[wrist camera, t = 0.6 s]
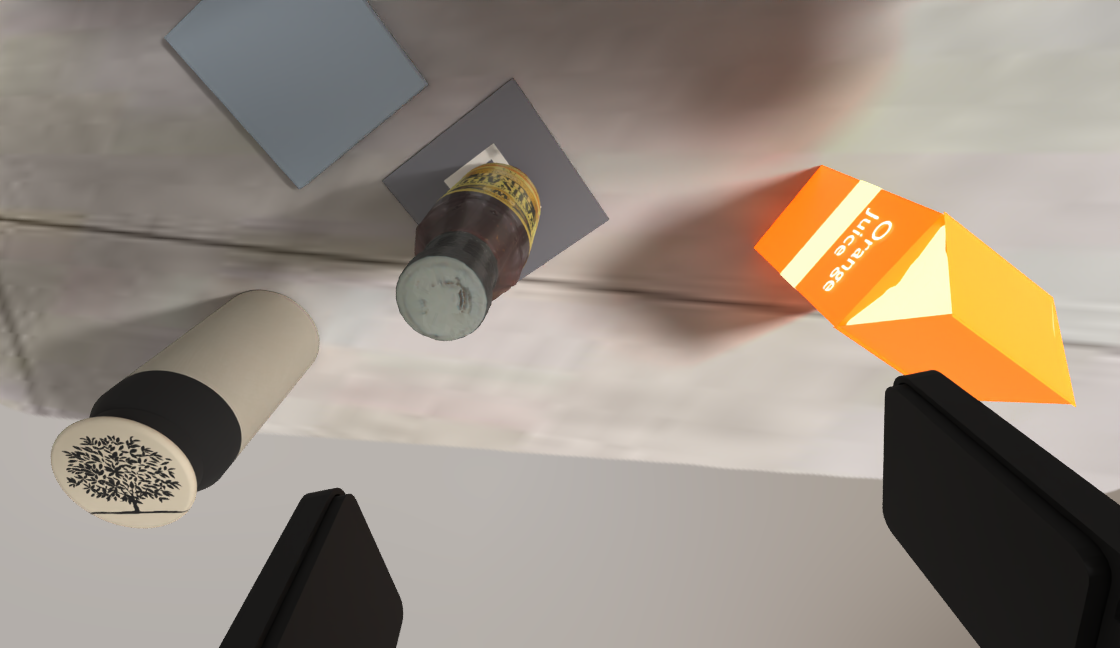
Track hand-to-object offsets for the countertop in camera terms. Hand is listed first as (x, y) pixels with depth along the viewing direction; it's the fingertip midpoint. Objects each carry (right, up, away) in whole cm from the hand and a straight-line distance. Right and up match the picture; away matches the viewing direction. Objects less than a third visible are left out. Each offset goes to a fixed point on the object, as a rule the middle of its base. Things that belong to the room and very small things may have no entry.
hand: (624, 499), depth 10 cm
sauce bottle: (-6, +12, +33) cm, 36 cm away
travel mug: (-25, +2, +38) cm, 45 cm away
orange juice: (+20, +10, +34) cm, 41 cm away
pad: (-19, +21, +29) cm, 40 cm away
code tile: (-6, +12, +33) cm, 36 cm away
